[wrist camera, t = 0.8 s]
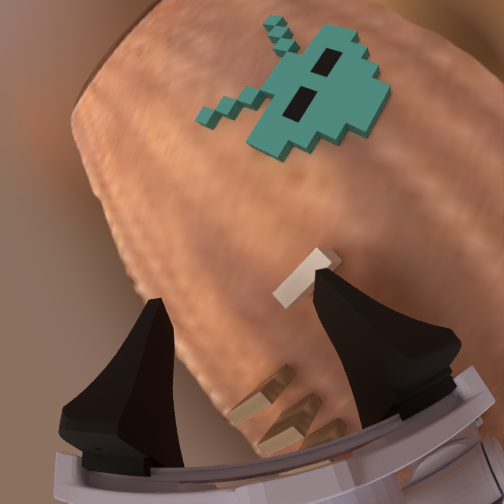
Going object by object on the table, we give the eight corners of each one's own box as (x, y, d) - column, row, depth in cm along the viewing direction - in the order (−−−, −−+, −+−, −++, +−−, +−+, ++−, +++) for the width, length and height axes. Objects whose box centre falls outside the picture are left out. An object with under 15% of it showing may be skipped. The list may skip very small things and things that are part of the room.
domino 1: (295, 374, 27) (271, 404, 21) (265, 396, 29) (237, 425, 22) (286, 364, 28) (260, 391, 21) (257, 386, 29) (226, 413, 23)
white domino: (342, 260, 25) (331, 262, 19) (308, 296, 27) (285, 308, 21) (331, 249, 26) (316, 247, 20) (297, 284, 27) (272, 293, 21)
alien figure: (204, 126, 33) (336, 192, 26) (194, 120, 32) (333, 187, 24) (276, 24, 29) (408, 60, 22) (270, 15, 27) (408, 49, 20)
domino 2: (322, 402, 26) (304, 437, 19) (290, 421, 27) (267, 455, 21) (312, 392, 26) (293, 426, 20) (281, 412, 28) (256, 445, 21)
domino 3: (346, 426, 24) (334, 465, 18) (313, 444, 26) (295, 481, 19) (337, 418, 25) (324, 455, 18) (305, 436, 26) (285, 472, 20)
